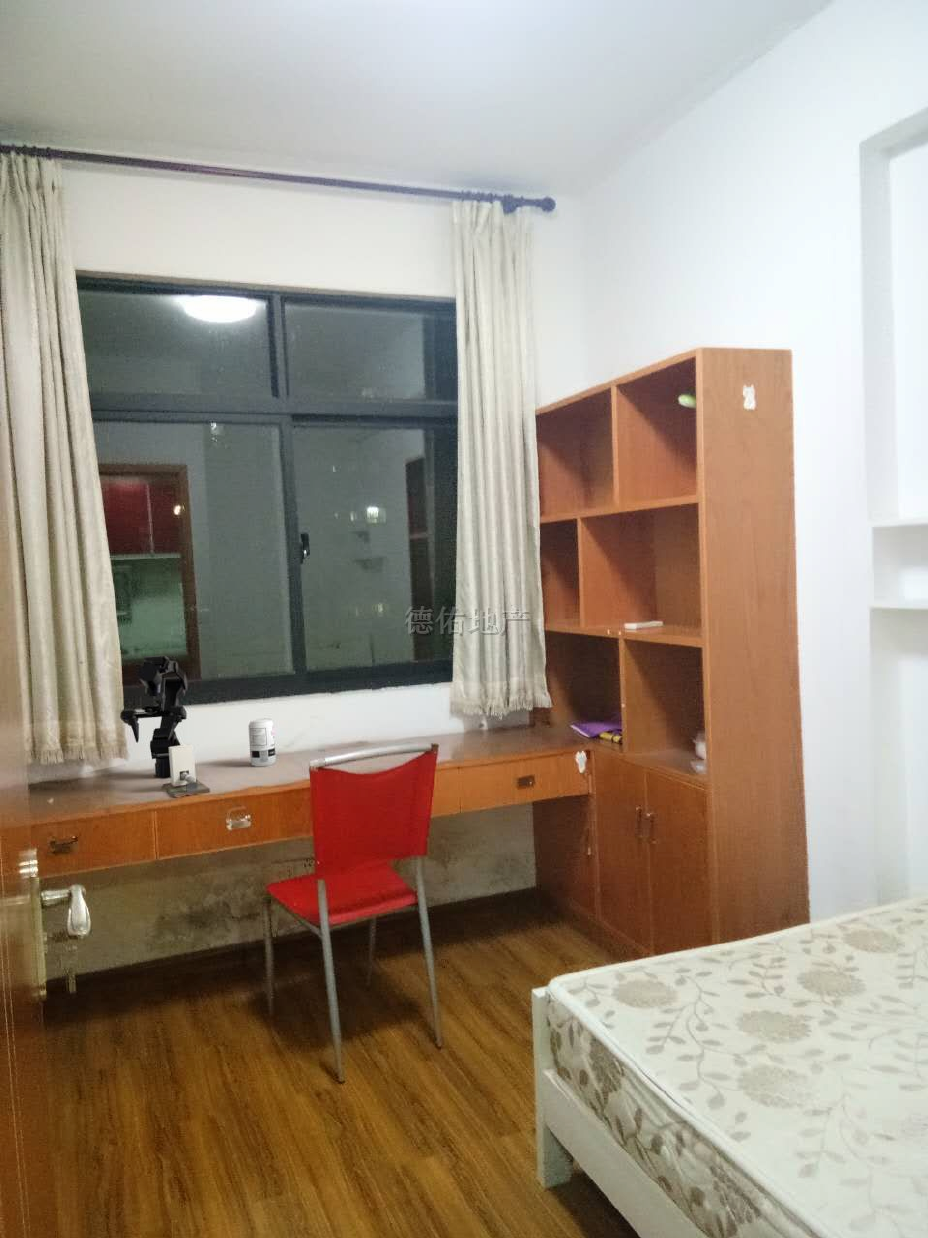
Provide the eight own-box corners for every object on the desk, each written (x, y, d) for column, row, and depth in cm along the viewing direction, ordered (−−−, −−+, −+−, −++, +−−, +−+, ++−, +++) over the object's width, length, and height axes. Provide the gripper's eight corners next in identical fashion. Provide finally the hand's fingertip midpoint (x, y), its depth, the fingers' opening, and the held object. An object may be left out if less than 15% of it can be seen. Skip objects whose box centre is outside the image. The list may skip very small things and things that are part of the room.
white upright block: (171, 784, 266) (168, 747, 265) (192, 780, 269) (190, 744, 269) (174, 786, 263) (171, 749, 262) (195, 783, 266) (193, 745, 265)
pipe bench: (162, 787, 269) (161, 770, 268) (195, 781, 274) (194, 765, 273) (175, 798, 254) (173, 780, 254) (209, 792, 259) (208, 774, 259)
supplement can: (246, 765, 295) (243, 721, 294) (269, 760, 301) (266, 717, 300) (257, 768, 289) (254, 723, 288) (280, 763, 294) (277, 719, 294)
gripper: (116, 685, 266) (113, 734, 259) (180, 681, 268) (178, 730, 261) (126, 698, 276) (123, 746, 269) (187, 694, 278) (186, 741, 271)
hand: (152, 741), depth 267 cm, fingers open, 9 cm apart
